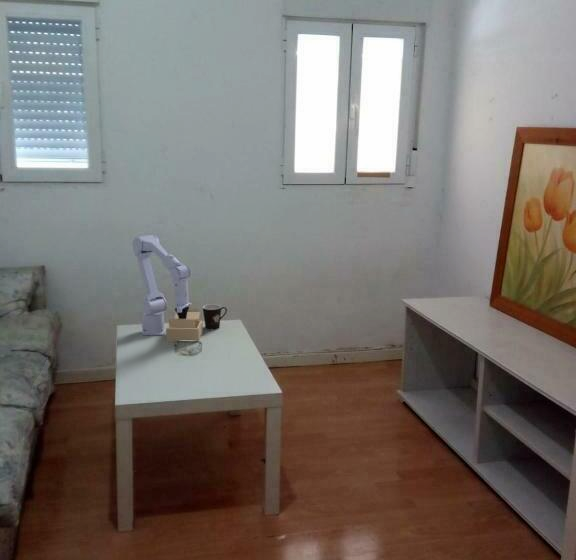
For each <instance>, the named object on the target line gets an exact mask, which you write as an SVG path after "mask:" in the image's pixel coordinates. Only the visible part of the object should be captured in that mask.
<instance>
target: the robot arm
mask: <svg viewBox="0 0 576 560" xmlns="http://www.w3.org/2000/svg"><path fill="white" fill-rule="evenodd" d="M131 245H132V249H133V252H134V256H135V257H136V261H137V264H138V268H139V272H140V276H141V280H142V284H143V288H144V291H145V295H144V296H143V298H142V299H141V302H142V311H143V312H144V313H143V314H142V316H141V327H142V335H145V336H163V335H164V334H166V328H167V327H165V315H164V313H166V310H167V309H168V302H167V300H166V298H165V296H164V293H162V292H160V291H159V290H158V286H157V283H156V278H155V275H154V271H153V267H152V263H151V259H150V257H151V254H155V255H156V256H157V257H158V258H159V259H160V260H161V264H162V265H163V266H164V268H166V269H167V270H168V271H169V272H170V277H171V279H172V283H173V287H174V289H173V291H174V307H175V308H174V311H175V314H176V313H177V315H178V317H179V319H186V317H187V312H189V310H190V306H192V305H193V304H192V302H189V282H188V280H189V279H188V278H190V275H191V269H190V267H189V266H188V265H187V264H186V263H185V264H184V263H181V262H180V261H179V260H178V258H176V257H175V256H174V254H169V253H168V252H167V251H166V250H165V249H164V247H163V246H162V245H161V244H160V238H159V237H157V236H156V235H155V234H150V235H148V234H147V235H142V236H135V237H134V239H133V240H132V243H131Z"/></svg>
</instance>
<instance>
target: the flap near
mask: <svg viewBox="0 0 576 560" xmlns="http://www.w3.org/2000/svg"><path fill="white" fill-rule="evenodd" d="M167 320H168V324H169V328H195V322H194V319H174V318H168V319H167Z"/></svg>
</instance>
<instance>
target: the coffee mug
mask: <svg viewBox="0 0 576 560" xmlns="http://www.w3.org/2000/svg"><path fill="white" fill-rule="evenodd" d="M223 309H225V312H224V313H223V315H221V313H222V310H223ZM202 311H203V320H204V325H205V329H206V328H207V329H206V330H208V329H213V330H212V331H214V329H216V330H219V329H220V326H221V320H222V319H223V318H224V317H225V315H226V314H227V312H228V309H227V307H224V306H221V305H220V304H217V303H213V304H210V303H209V304H205V305H203V306H202ZM218 328H219V329H218Z"/></svg>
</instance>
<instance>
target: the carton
mask: <svg viewBox="0 0 576 560" xmlns="http://www.w3.org/2000/svg"><path fill="white" fill-rule="evenodd" d="M194 322H195V328H169V323H168V325H167V326H166V327H165V328H166V331H165V336H166V338H165V339H166V343H167V342H169V343H170V342H171V343H172V342H173V343H175V341H180V340H196V341H199V342H200V339H201V338H202V336H201V335H203V331H204V330H203V320H202V319H201V320H200V319H199V320H194Z"/></svg>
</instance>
